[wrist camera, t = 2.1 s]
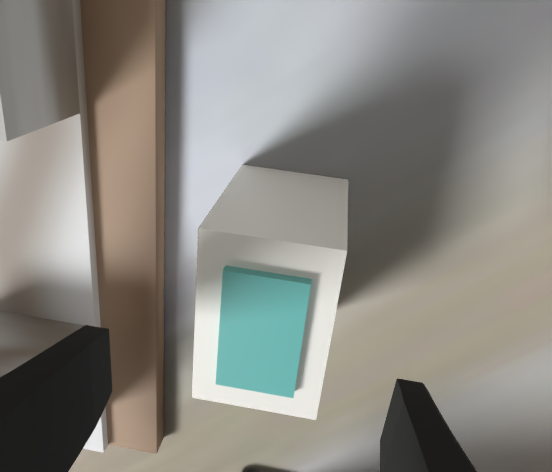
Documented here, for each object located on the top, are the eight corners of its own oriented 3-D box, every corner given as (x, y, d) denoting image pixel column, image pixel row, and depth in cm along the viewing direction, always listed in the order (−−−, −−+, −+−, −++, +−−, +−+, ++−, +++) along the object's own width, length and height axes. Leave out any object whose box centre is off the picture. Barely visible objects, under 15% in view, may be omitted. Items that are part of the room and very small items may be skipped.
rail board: (166, -136, 15) (74, -208, 10) (163, 437, 25) (117, 542, 20) (-138, -164, 16) (-365, -244, 11) (-20, 403, 26) (-107, 495, 21)
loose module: (348, 179, 18) (346, 255, 13) (324, 313, 21) (315, 427, 15) (242, 164, 19) (195, 232, 13) (232, 298, 21) (189, 404, 15)
